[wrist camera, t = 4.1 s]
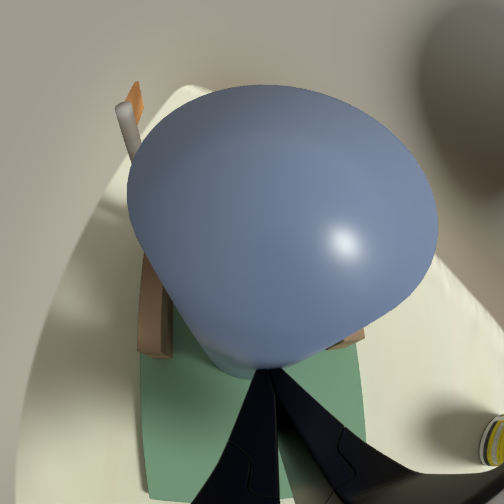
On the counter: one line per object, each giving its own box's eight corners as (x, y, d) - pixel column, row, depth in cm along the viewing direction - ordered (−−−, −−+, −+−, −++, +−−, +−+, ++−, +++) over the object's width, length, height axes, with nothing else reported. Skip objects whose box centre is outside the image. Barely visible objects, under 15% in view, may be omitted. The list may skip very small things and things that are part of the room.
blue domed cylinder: (320, 324, 17) (460, 181, 5) (255, 400, 14) (335, 424, 3) (247, 264, 18) (270, 66, 7) (178, 330, 16) (74, 175, 5)
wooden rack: (344, 347, 16) (451, 287, 7) (146, 358, 15) (51, 306, 6) (314, 194, 22) (353, 83, 13) (159, 197, 20) (129, 81, 12)
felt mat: (363, 478, 12) (367, 480, 12) (152, 496, 11) (149, 498, 11) (326, 217, 21) (329, 213, 21) (153, 221, 20) (151, 217, 20)
